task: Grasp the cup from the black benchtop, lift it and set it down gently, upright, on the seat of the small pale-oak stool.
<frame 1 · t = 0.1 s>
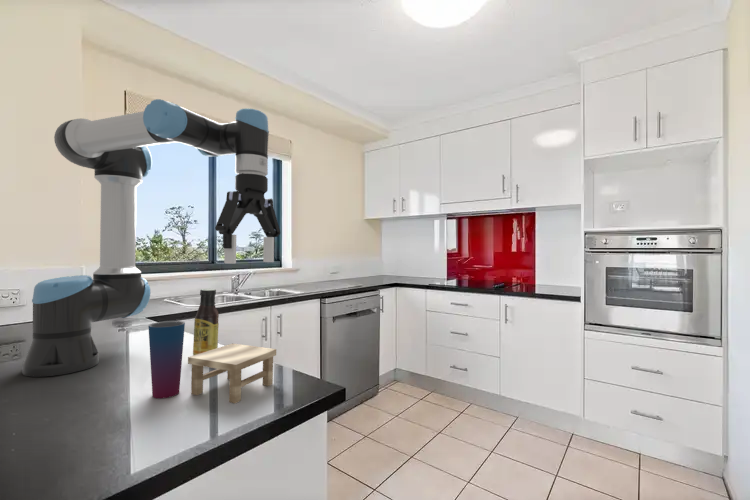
hand: (250, 262, 90), 28 cm above the counter, fingers open, 13 cm apart
stool: (233, 388, 82), on the counter
sauce bottle: (205, 360, 104), on the counter
cup: (166, 394, 79), on the counter
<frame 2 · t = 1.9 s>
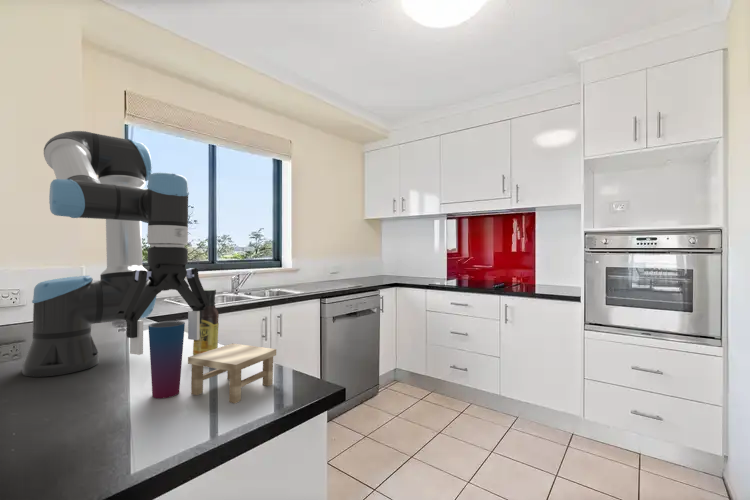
hand: (167, 346, 79), 10 cm above the counter, fingers open, 13 cm apart
nothing on the counter moved.
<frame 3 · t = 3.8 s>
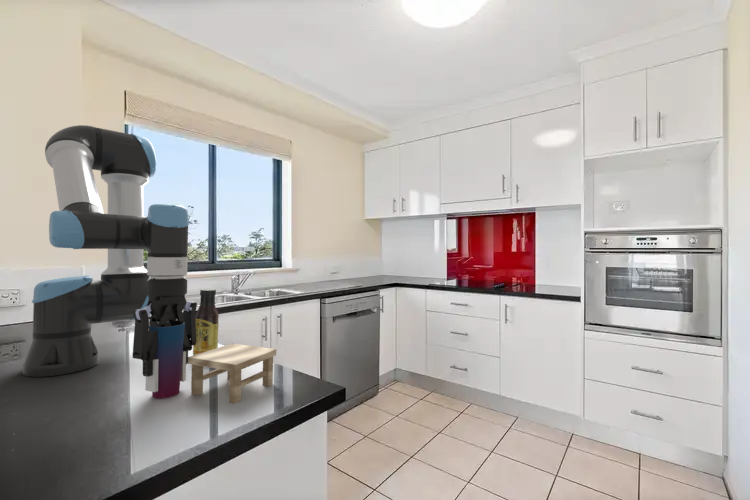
hand: (166, 385, 79), 2 cm above the counter, fingers closed on cup, 6 cm apart
cup: (166, 394, 79), on the counter, touching gripper
everything else where it was.
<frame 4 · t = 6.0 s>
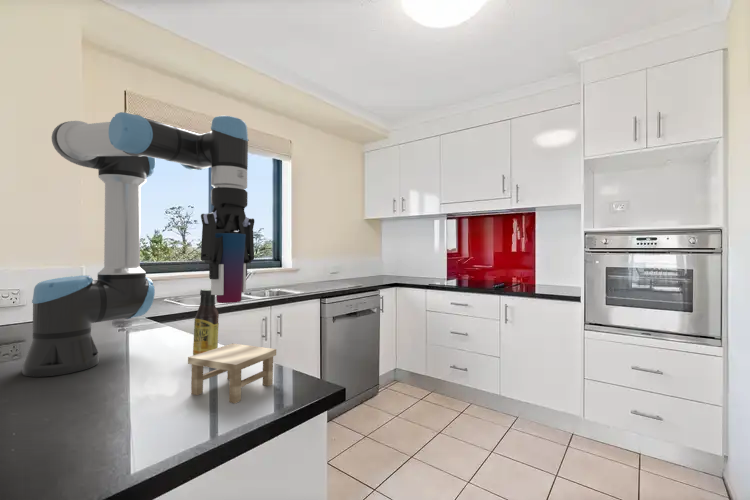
hand: (229, 293, 82), 21 cm above the counter, fingers closed on cup, 6 cm apart
cup: (229, 302, 82), point 19 cm above the counter, touching gripper
everything else where it was.
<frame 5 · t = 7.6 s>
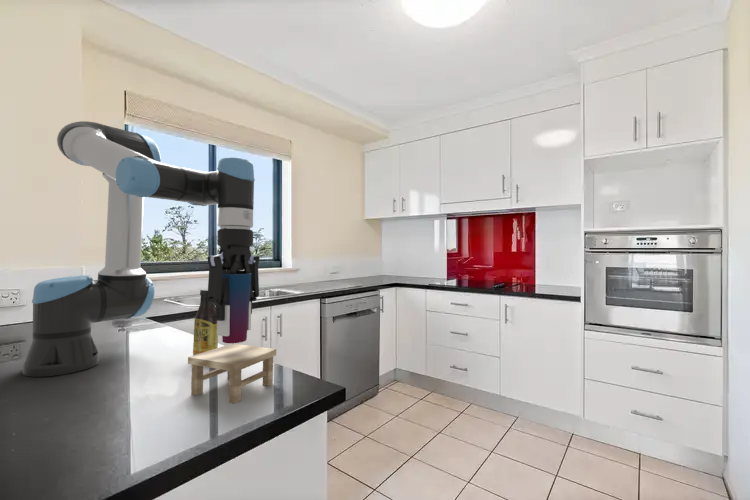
hand: (234, 332, 83), 13 cm above the counter, fingers closed on cup, 6 cm apart
cup: (234, 341, 82), point 11 cm above the counter, touching gripper
everything else where it was.
when the fingers open (11 cm above the counter, at t = 8.6 s): cup drops 1 cm, resting on stool.
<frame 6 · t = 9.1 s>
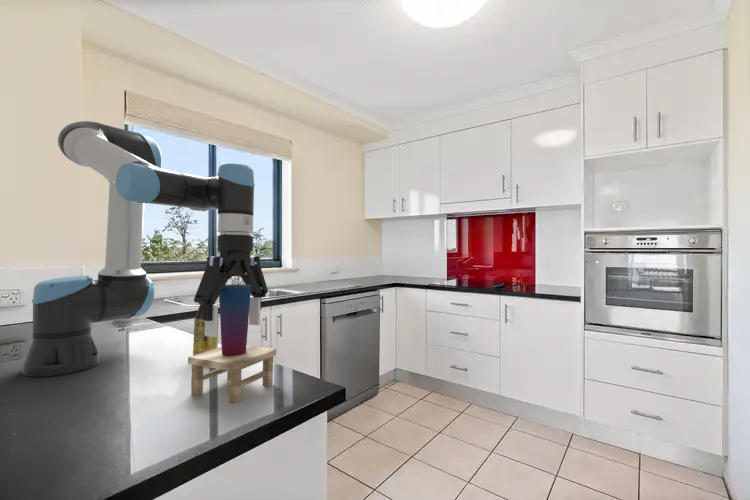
hand: (234, 330, 83), 13 cm above the counter, fingers open, 13 cm apart
cup: (234, 353, 83), point 8 cm above the counter, touching stool
everything else where it was.
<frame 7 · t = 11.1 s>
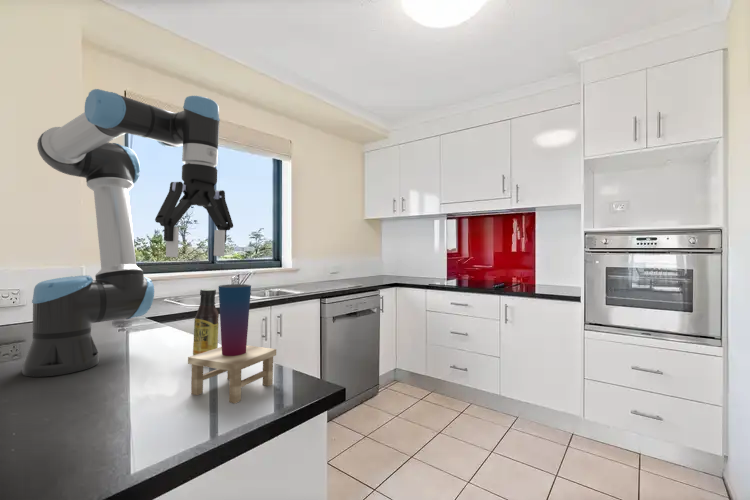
hand: (197, 256, 87), 29 cm above the counter, fingers open, 13 cm apart
nothing on the counter moved.
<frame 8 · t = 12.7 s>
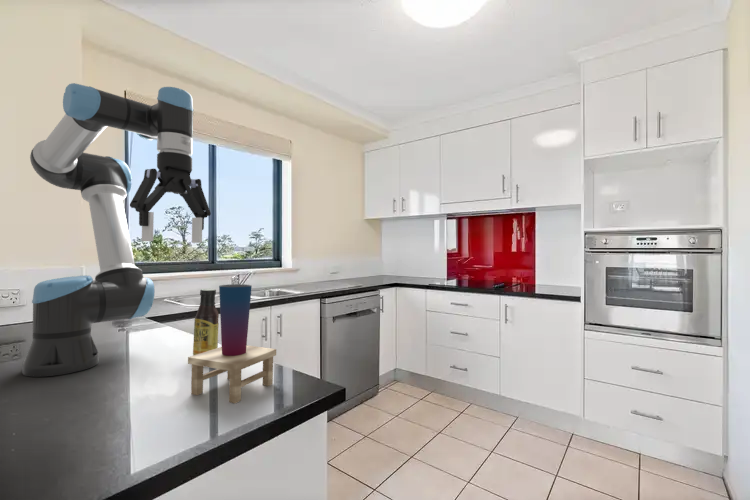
hand: (173, 242, 90), 33 cm above the counter, fingers open, 13 cm apart
nothing on the counter moved.
at the end: cup inside the target area on the stool (0.0 cm from its centre), point 7.8 cm above the stool's base; cup tilted 0°; the gripper is holding nothing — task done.
